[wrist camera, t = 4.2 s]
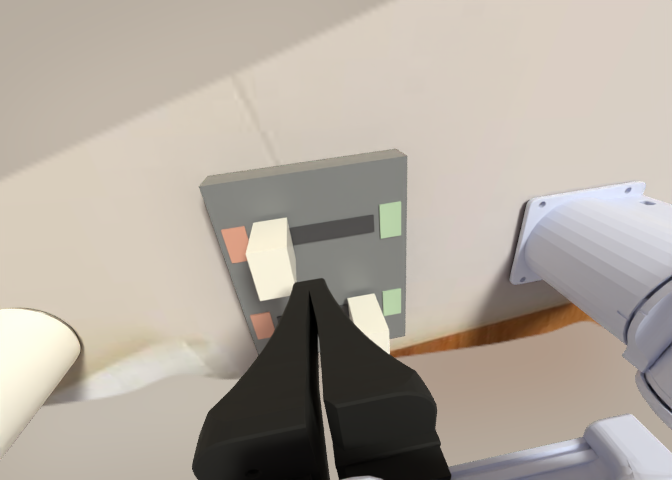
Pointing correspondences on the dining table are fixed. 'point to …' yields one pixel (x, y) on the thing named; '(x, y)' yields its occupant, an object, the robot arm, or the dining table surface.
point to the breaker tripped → (272, 258)
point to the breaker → (369, 319)
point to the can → (30, 366)
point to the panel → (319, 230)
